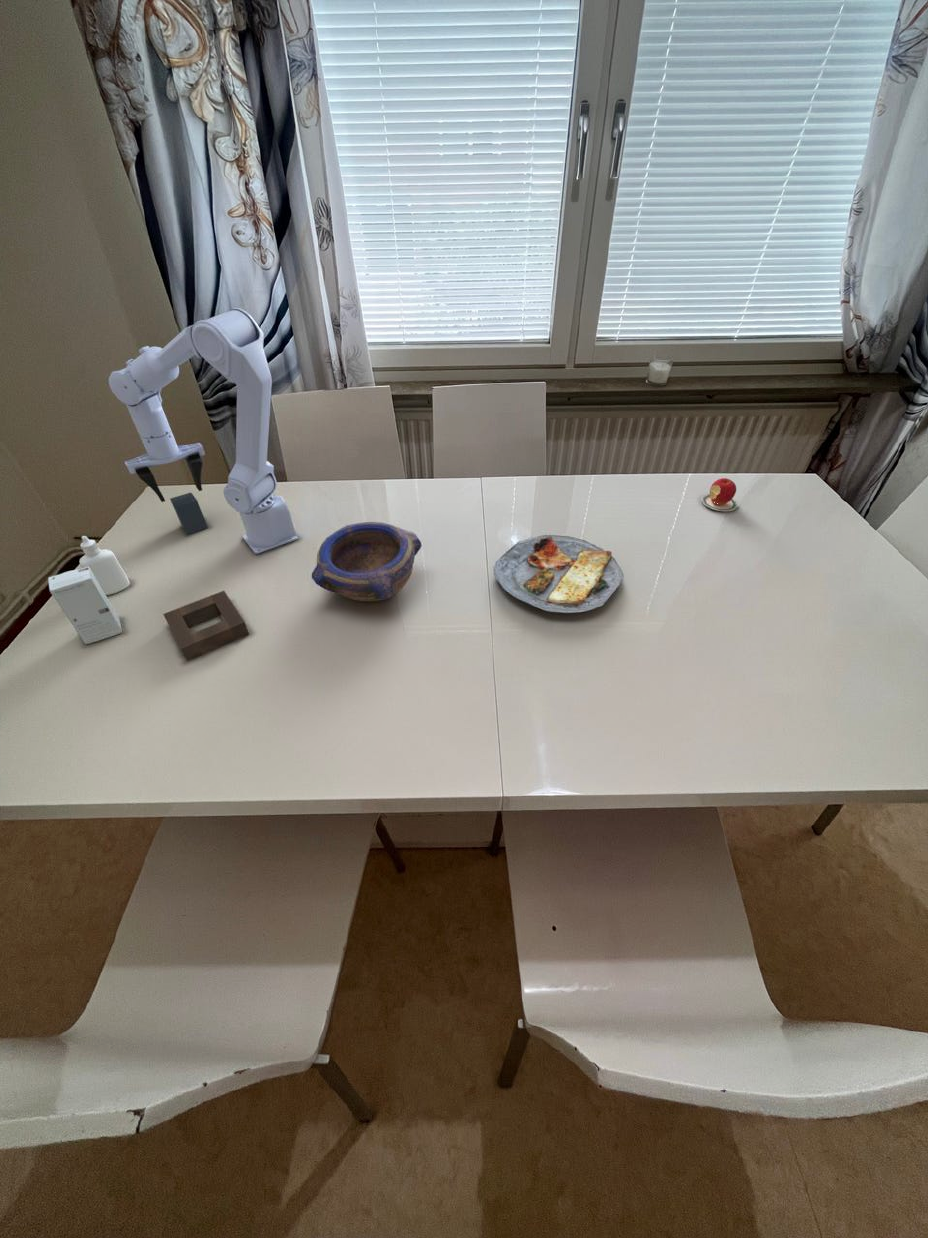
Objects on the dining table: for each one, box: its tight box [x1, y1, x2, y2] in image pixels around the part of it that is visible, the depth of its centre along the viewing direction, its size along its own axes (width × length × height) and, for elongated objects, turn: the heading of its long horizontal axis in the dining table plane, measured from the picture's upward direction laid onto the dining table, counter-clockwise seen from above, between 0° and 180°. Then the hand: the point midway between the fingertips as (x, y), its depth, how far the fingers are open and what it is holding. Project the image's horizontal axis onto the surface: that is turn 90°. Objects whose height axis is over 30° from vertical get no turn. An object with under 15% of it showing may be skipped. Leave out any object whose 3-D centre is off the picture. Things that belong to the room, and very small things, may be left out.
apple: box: [701, 477, 738, 512], centre depth 121 cm, size 8×8×6 cm
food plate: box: [492, 534, 624, 614], centre depth 101 cm, size 25×23×4 cm
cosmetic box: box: [47, 567, 123, 645], centre depth 87 cm, size 6×4×12 cm
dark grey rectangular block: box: [169, 492, 209, 535], centre depth 114 cm, size 4×4×7 cm
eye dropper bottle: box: [79, 535, 131, 596], centre depth 96 cm, size 4×6×12 cm
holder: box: [162, 590, 250, 662], centre depth 91 cm, size 11×11×3 cm
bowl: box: [311, 521, 422, 602], centre depth 97 cm, size 18×18×10 cm
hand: (181, 494), depth 110 cm, fingers open, 7 cm apart
